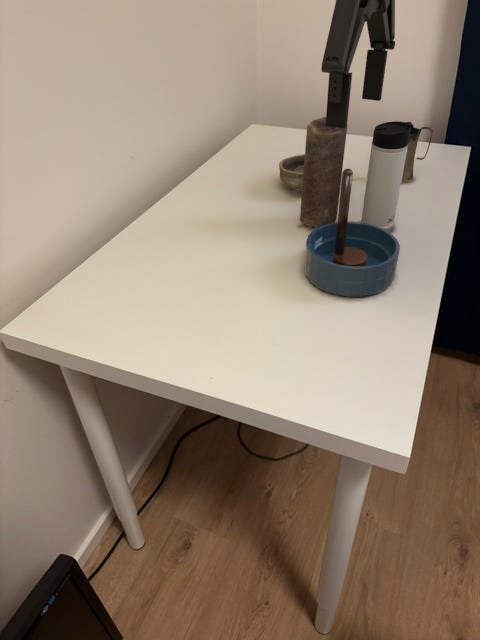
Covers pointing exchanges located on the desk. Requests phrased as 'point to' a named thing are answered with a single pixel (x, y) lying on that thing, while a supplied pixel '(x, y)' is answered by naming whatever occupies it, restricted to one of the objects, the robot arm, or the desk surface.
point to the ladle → (342, 253)
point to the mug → (412, 153)
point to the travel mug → (385, 173)
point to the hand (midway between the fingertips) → (354, 112)
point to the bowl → (292, 171)
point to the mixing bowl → (348, 278)
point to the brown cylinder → (322, 173)
